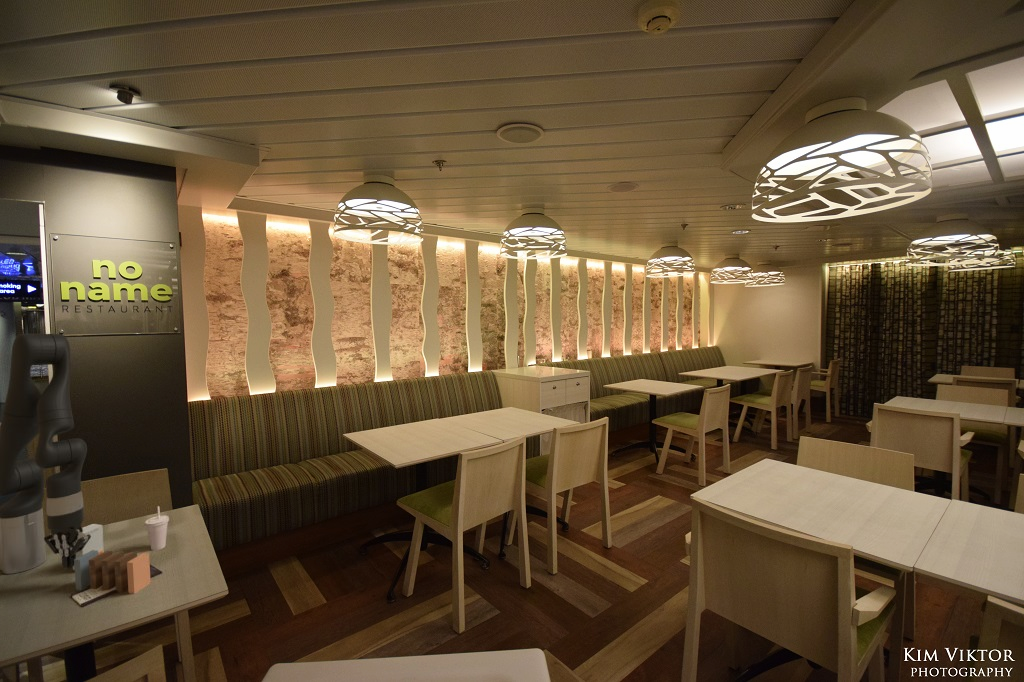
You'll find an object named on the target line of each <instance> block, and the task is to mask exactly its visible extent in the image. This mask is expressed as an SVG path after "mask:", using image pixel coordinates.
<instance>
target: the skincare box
mask: <svg viewBox="0 0 1024 682" xmlns="http://www.w3.org/2000/svg"><path fill="white" fill-rule="evenodd" d="M103 528H104V527H103V525H102V524H97V523H92V524H88V525H87V526H84V527H82V529H83V532H82V533H83V534H85V535H88V534H89V535H91V538H90V539H89V541H88V542H87V544H86V545H85V547H84V548H83V549H82V550H81V551H79V552H77V553H76V558H78V557H80V556H82V555H84V554H86V553H88V552H90V551H92V550H97V551H98V555H99V554H101V553H103V552H105V550H104V534H103V533H104V531H103ZM72 571H75V566H73V567H72Z"/></svg>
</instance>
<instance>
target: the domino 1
mask: <svg viewBox="0 0 1024 682" xmlns="http://www.w3.org/2000/svg"><path fill="white" fill-rule="evenodd" d="M97 555H98V551H97V550H92V551H90V552H88V553H86V554H84V555H82V556H80V557H78V558H76V559H74V566H75V570H74V577H75V578H74V579H75V590H76V591H81V590H84V589H86V588H89V587H90V574H89V560H90V559H92V558H93V557H95V556H97Z"/></svg>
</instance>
